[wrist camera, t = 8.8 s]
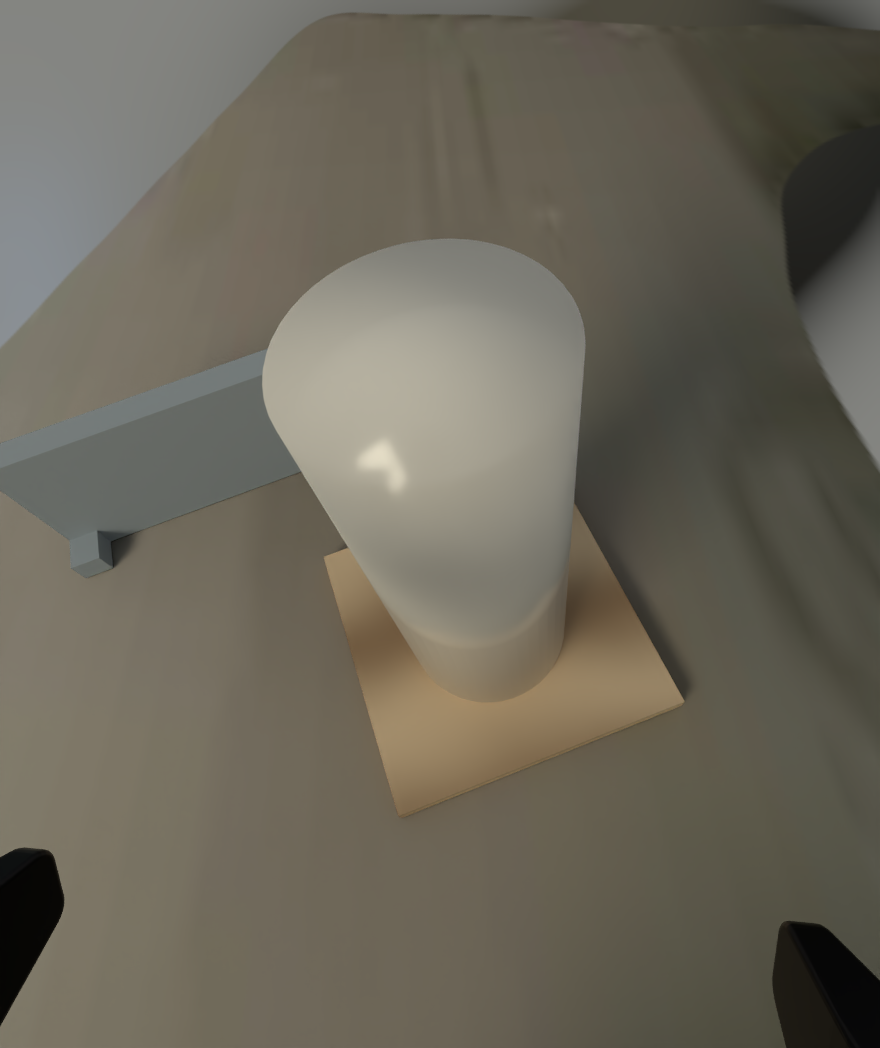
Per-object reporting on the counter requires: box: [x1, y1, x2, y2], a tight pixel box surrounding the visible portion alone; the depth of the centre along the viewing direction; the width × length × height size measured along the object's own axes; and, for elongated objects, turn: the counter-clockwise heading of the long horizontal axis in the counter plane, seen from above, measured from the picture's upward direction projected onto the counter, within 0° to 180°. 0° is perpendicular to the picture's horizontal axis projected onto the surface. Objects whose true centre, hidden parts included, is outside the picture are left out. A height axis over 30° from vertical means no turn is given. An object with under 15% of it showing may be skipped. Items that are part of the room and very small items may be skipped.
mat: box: [324, 503, 685, 818], centre depth 23 cm, size 10×10×1 cm
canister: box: [262, 239, 586, 702], centre depth 17 cm, size 6×6×14 cm
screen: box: [0, 349, 301, 578], centre depth 26 cm, size 4×12×6 cm, turn 110°
